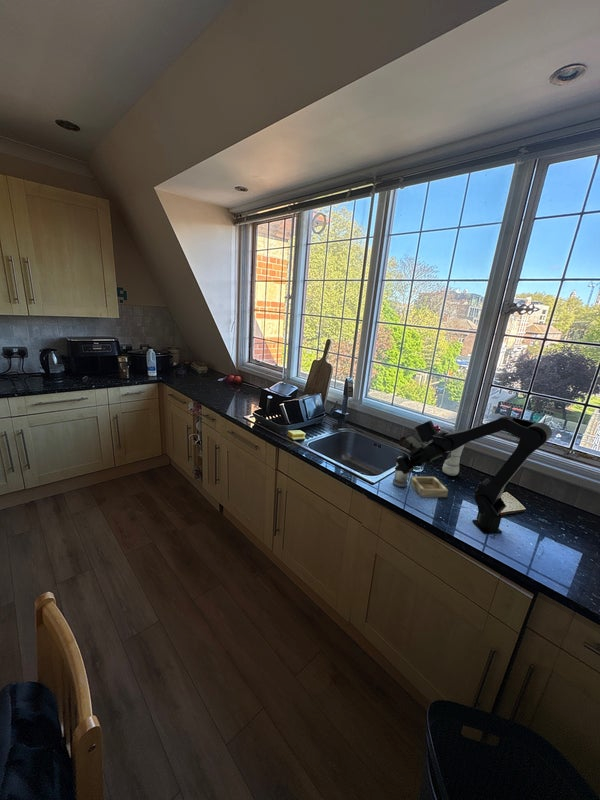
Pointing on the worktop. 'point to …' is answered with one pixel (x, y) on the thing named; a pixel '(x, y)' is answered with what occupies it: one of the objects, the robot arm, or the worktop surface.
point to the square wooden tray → (428, 486)
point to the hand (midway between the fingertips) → (399, 467)
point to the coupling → (400, 478)
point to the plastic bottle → (453, 462)
